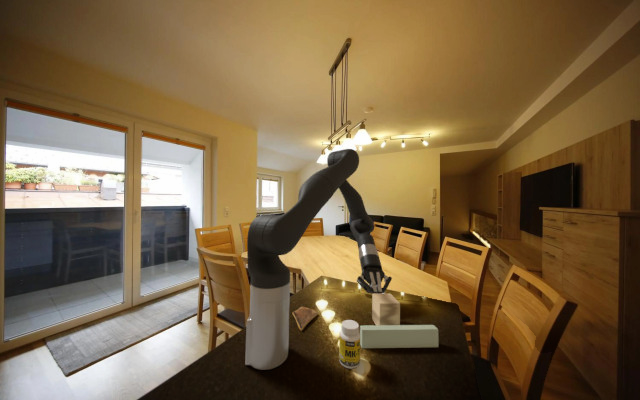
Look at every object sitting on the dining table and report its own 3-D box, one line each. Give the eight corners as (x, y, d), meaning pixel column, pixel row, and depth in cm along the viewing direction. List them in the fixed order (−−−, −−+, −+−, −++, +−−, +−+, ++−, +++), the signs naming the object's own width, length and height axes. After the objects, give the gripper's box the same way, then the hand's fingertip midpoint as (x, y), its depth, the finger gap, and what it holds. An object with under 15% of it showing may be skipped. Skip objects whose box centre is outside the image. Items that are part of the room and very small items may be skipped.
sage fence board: (361, 348, 52) (362, 330, 52) (359, 343, 54) (360, 325, 54) (438, 347, 53) (438, 329, 53) (433, 342, 55) (433, 324, 55)
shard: (300, 333, 58) (301, 327, 58) (279, 326, 61) (279, 319, 61) (318, 316, 67) (318, 310, 68) (299, 310, 71) (299, 305, 71)
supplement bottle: (343, 371, 44) (344, 331, 44) (336, 356, 49) (336, 320, 49) (363, 367, 45) (364, 328, 46) (354, 352, 50) (354, 317, 50)
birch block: (379, 331, 59) (379, 303, 59) (372, 318, 66) (372, 293, 66) (399, 331, 59) (399, 303, 60) (390, 318, 66) (390, 293, 67)
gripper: (354, 252, 77) (362, 300, 64) (388, 253, 78) (403, 300, 65) (351, 263, 82) (358, 309, 69) (383, 263, 83) (396, 309, 70)
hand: (379, 305), depth 67 cm, fingers closed
